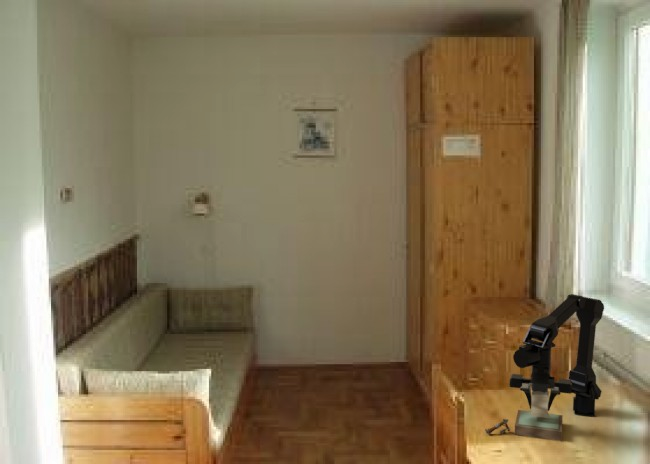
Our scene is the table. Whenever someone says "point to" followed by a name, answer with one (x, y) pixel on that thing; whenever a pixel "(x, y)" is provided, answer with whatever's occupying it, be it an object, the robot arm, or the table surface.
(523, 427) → the brown and green tray
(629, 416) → the table surface
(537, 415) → the maple block
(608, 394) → the table surface
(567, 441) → the table surface
